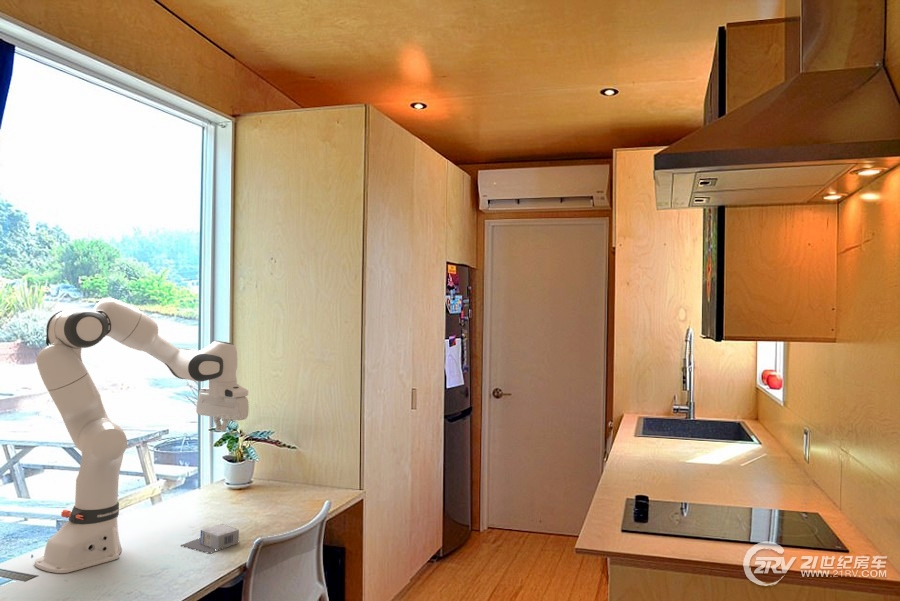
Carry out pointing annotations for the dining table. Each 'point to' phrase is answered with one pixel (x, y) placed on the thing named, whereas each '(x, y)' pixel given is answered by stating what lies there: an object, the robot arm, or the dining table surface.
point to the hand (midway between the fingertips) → (221, 430)
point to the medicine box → (219, 536)
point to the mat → (198, 546)
